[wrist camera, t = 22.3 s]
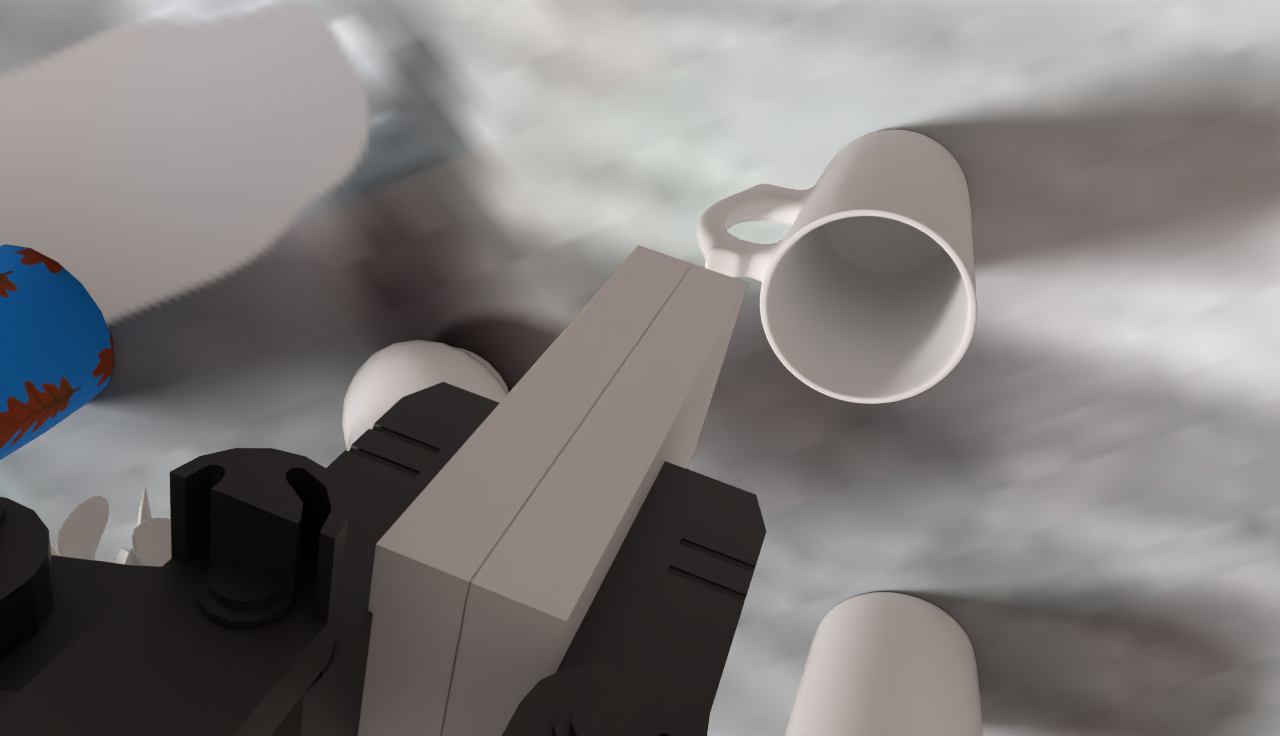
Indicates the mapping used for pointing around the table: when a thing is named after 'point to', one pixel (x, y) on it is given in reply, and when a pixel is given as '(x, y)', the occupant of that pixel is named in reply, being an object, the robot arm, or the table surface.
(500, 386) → the flower vase
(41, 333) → the leaf-print blue block
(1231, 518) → the table surface
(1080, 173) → the table surface
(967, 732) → the candle holder
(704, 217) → the mug
